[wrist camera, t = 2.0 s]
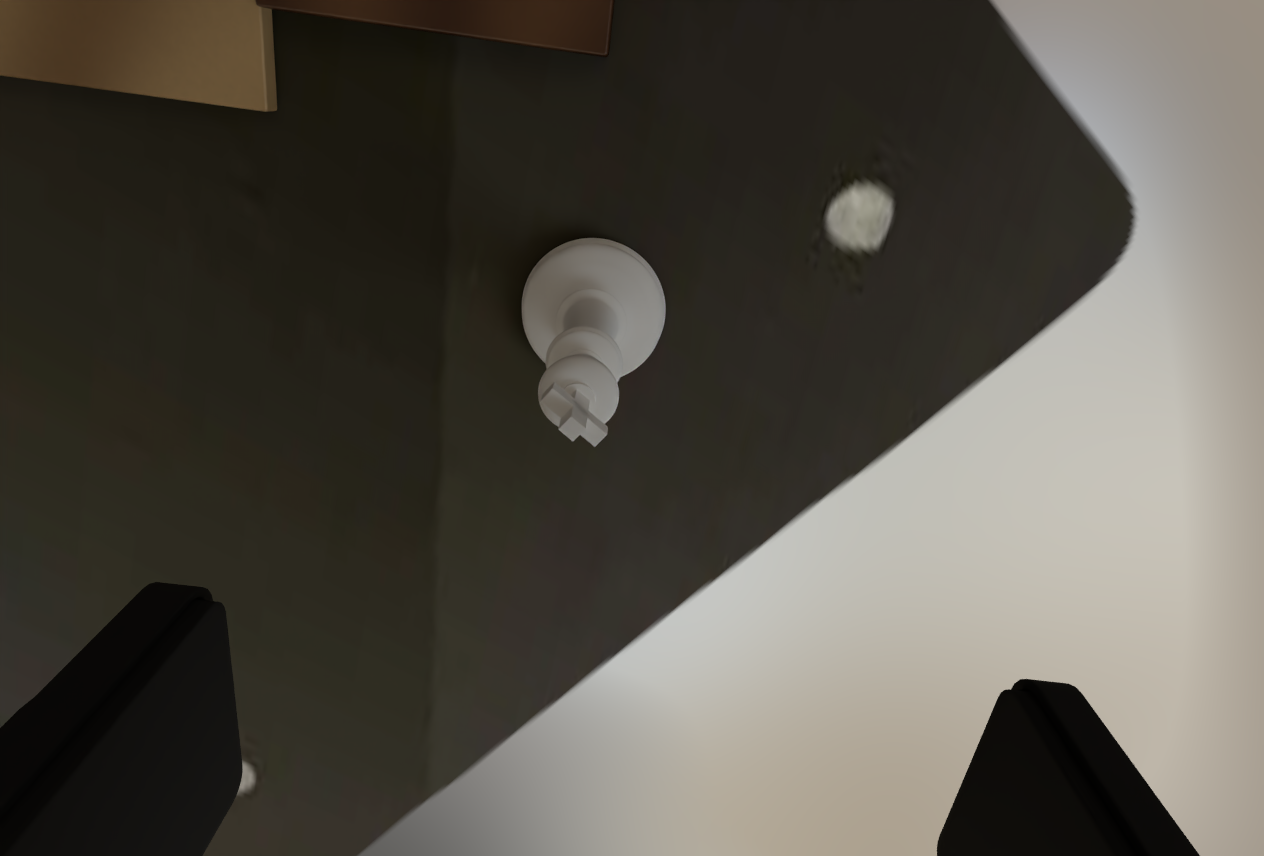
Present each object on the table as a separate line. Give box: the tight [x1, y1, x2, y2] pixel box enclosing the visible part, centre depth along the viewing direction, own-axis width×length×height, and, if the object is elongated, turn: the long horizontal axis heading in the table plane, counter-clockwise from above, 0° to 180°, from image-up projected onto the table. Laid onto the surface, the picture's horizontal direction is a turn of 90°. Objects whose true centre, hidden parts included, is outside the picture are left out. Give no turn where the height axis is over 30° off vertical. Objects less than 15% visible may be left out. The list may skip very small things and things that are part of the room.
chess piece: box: [522, 238, 665, 447], centre depth 22 cm, size 5×5×10 cm
